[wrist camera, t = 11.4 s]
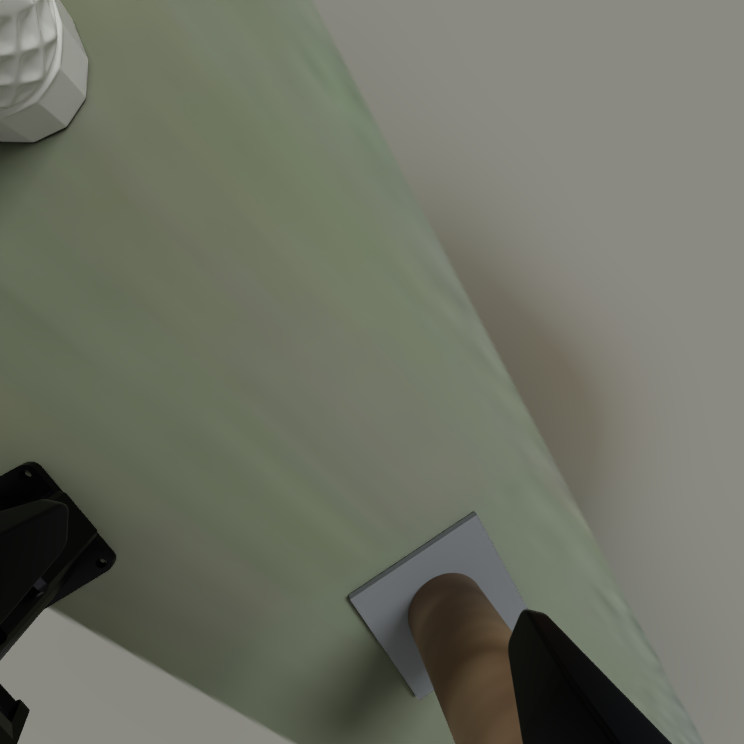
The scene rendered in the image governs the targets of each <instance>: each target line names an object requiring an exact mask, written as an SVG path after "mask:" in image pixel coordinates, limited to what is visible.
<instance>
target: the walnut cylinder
mask: <svg viewBox="0 0 744 744" xmlns="http://www.w3.org/2000/svg"><path fill="white" fill-rule="evenodd" d="M408 623H409V627H410V630H411V633H412V635H413V638H414V640H415V643H416V645H417V648H418V650H419V653H420V655H421V658H422V660H423V663H424V665H425V668H426V670H427V673H428V676H429V678H430V681H431V683H432V686H433V688H434V691H435V693H436V696H437V698H438V701H439V703H440V706H441V708H442V711H443V713H444V716H445V718H446V721H447V723H448V726H449V728H450V731H451V733H452V736H453V738H454V741H455V743H456V744H523V742H522V737H521V731H520V725H519V718H518V712H517V706H516V700H515V694H514V687H513V681H512V675H511V669H510V663H509V656H508V643H509V639H510V636H511V634H512V631H511V630H510V628H509V627H508V626H507V624H506V623H505V621H504V620H503V619H502V617H501V616H500V615H499V613H498V612H497V610H496V609H495V608H494V606H493V605H492V604H491V602H490V601H489V600H488V598H487V597H486V595H485V594H484V593H483V591H482V590H481V589H480V587H479V586H478V584H477V583H476V582H475V581H474V580H473V579H471V578H470V577H468V576H466V575H464V574H460V573H446V574H442V575H439V576H436V577H434V578H432V579H431V580H429V581H428V582H426V583H425V584H424V585H423V586H422V587H421V588H420V589H419V590H418V591H417V593H416V594H415V596H414V598H413V600H412V601H411V604H410V607H409V612H408Z"/></svg>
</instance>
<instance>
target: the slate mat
mask: <svg viewBox="0 0 744 744" xmlns="http://www.w3.org/2000/svg"><path fill="white" fill-rule="evenodd" d="M446 573H460V574H464V575H466V576H468V577H470V578H471V579H473V580H474V581H475V582H476V583H477V584H478V586H479V587H480V589H481V590H482V591H483V593H484V594H485V595H486V597H487V598H488V600H489V601H490V602H491V604H492V605H493V606H494V608H495V609H496V610H497V612H498V613H499V615H500V616H501V617H502V619H503V620H504V621H505V623H506V624H507V626H508V627H509V628H510V630H511V631H512V632H513V629H514V627H515V625H516V622H517V620H518V617H519V615H520V613H521V612H522V611H523V610H524V609H528V608H527V606H526V605H525V603H524V601H523V599H522V597H521V595H520V593H519V592H518V590H517V588H516V586H515V584H514V582H513V580H512V579H511V577H510V575H509V573H508V571H507V569H506V567H505V566H504V564H503V562H502V560H501V558H500V556H499V554H498V553H497V551H496V549H495V547H494V545H493V543H492V541H491V540H490V538H489V536H488V534H487V532H486V530H485V528H484V527H483V525H482V523H481V521H480V519H479V517H478V515H477V514H476V513H475V512H472V513H471V514H469V515H468V516H466V517H465V518H463V519H462V520H460V521H459V522H457V523H456V524H454V525H453V526H451V527H450V528H448V529H447V530H445V531H444V532H442V533H441V534H439V535H438V536H436V537H435V538H433V539H432V540H430V541H429V542H427V543H426V544H424V545H423V546H421V547H420V548H418V549H417V550H415V551H414V552H412V553H411V554H409V555H408V556H406V557H405V558H403V559H402V560H400V561H399V562H397V563H396V564H394V565H393V566H391V567H390V568H388V569H387V570H385V571H384V572H382V573H381V574H379V575H378V576H376V577H375V578H373V579H372V580H370V581H369V582H367V583H366V584H364V585H363V586H361V587H360V588H358V589H357V590H355V591H354V592H352V593H351V594H349V597H350V600H351V602H352V603H353V605H354V606H355V607H356V609H357V610H358V612H359V613H360V615H361V616H362V618H363V619H364V621H365V622H366V624H367V625H368V627H369V628H370V629H371V631H372V632H373V634H374V635H375V637H376V638H377V640H378V641H379V643H380V644H381V646H382V647H383V648H384V650H385V651H386V653H387V654H388V656H389V657H390V659H391V660H392V662H393V663H394V665H395V666H396V668H397V669H398V670H399V672H400V673H401V675H402V676H403V678H404V679H405V681H406V682H407V684H408V685H409V687H410V688H411V689H412V691H413V692H414V694H415V695H416V697H417V698H418V700H421V699H422V698H423V697H425V696H426V695H427V694H429V693H430V692H432V691H433V690H434V688H433V686H432V683H431V681H430V678H429V676H428V673H427V670H426V668H425V665H424V663H423V660H422V658H421V655H420V653H419V650H418V648H417V645H416V643H415V640H414V638H413V635H412V633H411V630H410V627H409V623H408V612H409V607H410V604H411V601H412V600H413V598H414V596H415V594H416V593H417V591H418V590H419V589H420V588H421V587H422V586H423V585H424V584H425V583H426V582H428V581H429V580H431V579H432V578H434V577H436V576H439V575H442V574H446Z"/></svg>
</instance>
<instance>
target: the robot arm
mask: <svg viewBox="0 0 744 744" xmlns="http://www.w3.org/2000/svg"><path fill="white" fill-rule="evenodd" d="M25 470H28V471H30V472H31V474H32V476H31V477H28V476H27V475H26V474H25ZM101 558H102V559H105V560H106V561H107V563H102V562H101V561H100V559H101ZM115 561H116V555H115V553H114V551H113V550H112V549H111V548H110V547H109V546H108V544H107V543H106V542H105V541H104V540H103V539H102V537H101V536H100V535H99V534H98V533H97V529H96V528H95V527H94V526H93V525H92V523H91V522H90V521H89V520H88V519H87V518H86V516H85V515H84V514H83V513H82V512H81V510H80V509H79V508H78V507H77V506H76V505H75V503H74V502H73V501H72V500H71V499H70V497H69V496H68V495H67V494H66V493H64V492H63V491H62V490H61V489H60V488H59V487H58V485H57V484H56V483H55V482H54V481H53V479H52V478H51V477H50V476H49V475H48V474H47V472H46V471H45V470H44V469H43V468H42V466H40V465H39V464H38V463H35V462H26V463H24V464H22V465H20V466H18V467H16V468H14V469H13V470H11V471H9V472H7V473H5V474H4V475H2V476H0V660H1V659H2V658H3V657H4V655H5V654H6V653H7V652H8V651H9V650H10V648H11V647H12V646H13V645H14V644H15V642H16V641H17V640H18V639H19V638H20V637H21V635H22V634H23V633H24V632H25V631H26V629H27V628H28V627H29V626H30V625H31V624H32V622H33V621H34V620H35V619H36V617H38V615H39V614H40V613H41V612H42V611H43V610H44V609H45V608H47V607H49V606H50V605H52V604H54V603H55V602H57V601H59V600H60V599H62V598H64V597H65V596H67V595H69V594H70V593H72V592H73V591H75V590H77V589H78V588H80V587H82V586H83V585H85V584H87V583H88V582H90V581H92V580H93V579H95V578H97V577H98V576H100V575H101V574H103V573H105V572H106V571H108V570H109V569H110V568H111V567H112V566H113V564H114V563H115ZM508 656H509V663H510V669H511V675H512V681H513V687H514V694H515V700H516V706H517V712H518V718H519V725H520V731H521V737H522V742H523V744H672V743H671V742H670V741H669V740H668V739H667V738H666V737H665V736H664V735H663V734H662V733H661V732H660V731H659V730H658V729H657V728H656V727H655V726H654V725H653V724H652V723H651V722H650V721H649V720H648V719H647V718H646V717H645V716H644V715H643V714H642V712H641V711H640V710H639V709H638V708H637V707H636V706H635V705H634V704H633V703H632V702H631V701H630V700H629V699H628V698H627V697H626V696H625V695H624V694H623V693H622V692H621V691H620V690H619V689H618V688H617V687H616V686H615V685H614V684H613V683H612V682H611V681H610V680H609V679H608V677H607V676H606V675H605V674H604V673H603V672H602V671H601V670H600V669H599V668H598V667H597V666H596V665H595V664H594V663H593V662H592V661H591V660H590V659H589V658H588V657H587V656H586V655H585V654H584V653H583V652H582V651H581V650H580V649H579V648H578V647H577V646H576V645H575V644H574V642H573V641H572V640H571V639H570V638H569V637H568V636H567V635H566V634H565V633H564V632H563V631H562V630H561V629H560V628H559V627H558V626H557V625H556V624H555V623H554V622H553V621H552V620H551V619H550V618H549V617H548V616H547V615H546V614H544V613H542V612H538V611H533V610H529V609H524V610H523V611H522V612H521V613H520V615H519V617H518V620H517V622H516V625H515V627H514V629H513V632H512V634H511V636H510V639H509V643H508ZM28 713H29V709H28V708H27V706H26V705H25V704H24V703H23V702H22V701H21V700H17V701H15V700H14V699H13V698H12V696H11V695H10V694H9V693H8V692H7V691H6V690H5V689H4V688H3V686H2V685H1V684H0V744H17V742H18V740H19V737H20V734H21V732H22V729H23V727H24V724H25V721H26V718H27V716H28Z"/></svg>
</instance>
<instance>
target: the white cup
mask: <svg viewBox="0 0 744 744" xmlns="http://www.w3.org/2000/svg"><path fill="white" fill-rule="evenodd" d="M87 76H88V58H87V55H86V53H85V50H84V48H83V45H82V43H81V40H80V38H79V35H78V32H77V30H76V27H75V25H74V22H73V20H72V18H71V17H70V15H69V14H68V12H67V11H66V9H65V8H64V6H63V5H62V3H61V2H60V0H0V142H36V141H38V140H40V139H42V138H44V137H46V136H48V135H51V134H53V133H55V132H57V131H59V130H61V129H63V128H65V127H67V126H68V124H69V123H70V121H71V120H72V118H73V117H74V115H75V114H76V112H77V111H78V109H79V108H80V106H81V105H82V103H83V102H84V100H85V99H86V92H87Z"/></svg>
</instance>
